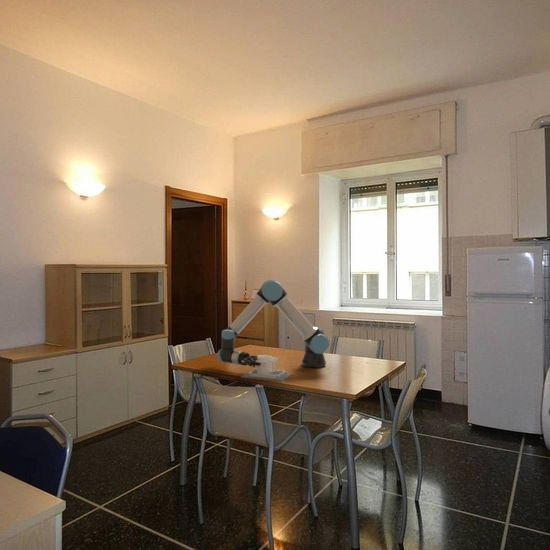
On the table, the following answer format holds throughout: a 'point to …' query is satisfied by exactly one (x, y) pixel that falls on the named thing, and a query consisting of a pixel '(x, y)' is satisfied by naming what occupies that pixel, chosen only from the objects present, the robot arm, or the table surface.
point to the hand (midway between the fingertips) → (272, 362)
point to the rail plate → (275, 376)
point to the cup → (268, 368)
